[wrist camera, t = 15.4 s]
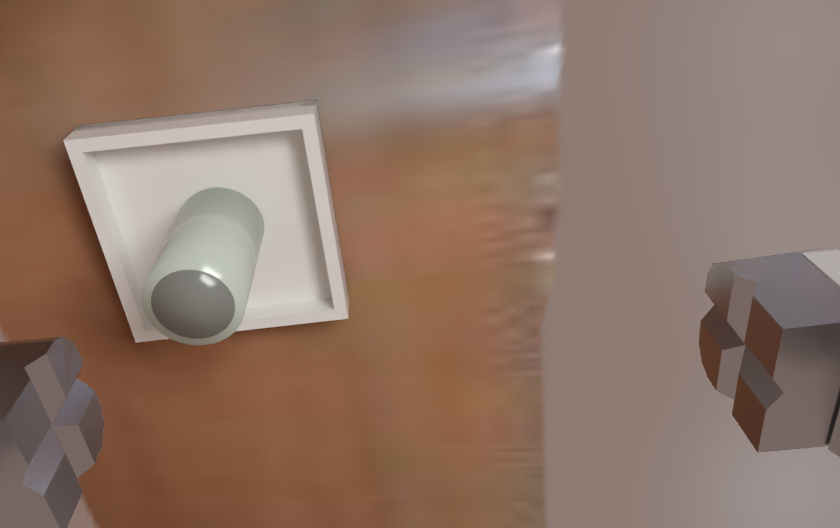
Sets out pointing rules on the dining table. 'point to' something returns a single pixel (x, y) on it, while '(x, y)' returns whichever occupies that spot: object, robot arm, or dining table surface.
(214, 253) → the sage cup
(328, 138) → the dining table surface
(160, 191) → the grey tray
